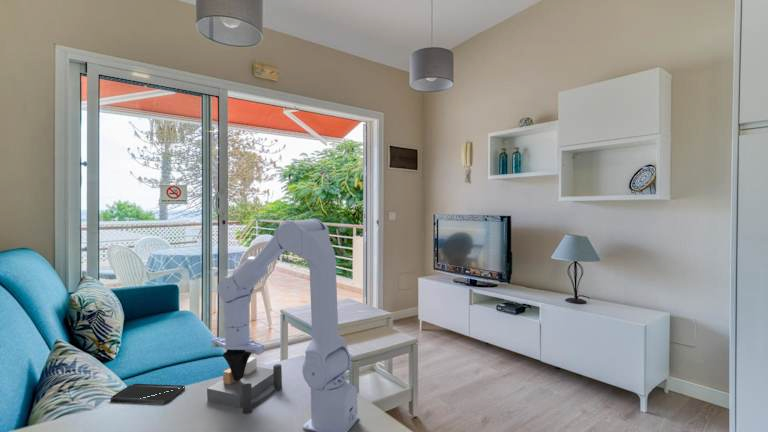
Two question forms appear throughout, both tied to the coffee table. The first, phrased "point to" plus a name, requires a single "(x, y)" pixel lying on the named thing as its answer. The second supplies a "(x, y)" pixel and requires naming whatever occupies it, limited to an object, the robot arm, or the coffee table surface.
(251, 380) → the grey tray with posts
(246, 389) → the dark grey post rail
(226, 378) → the orange rectangular block
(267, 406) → the coffee table surface
